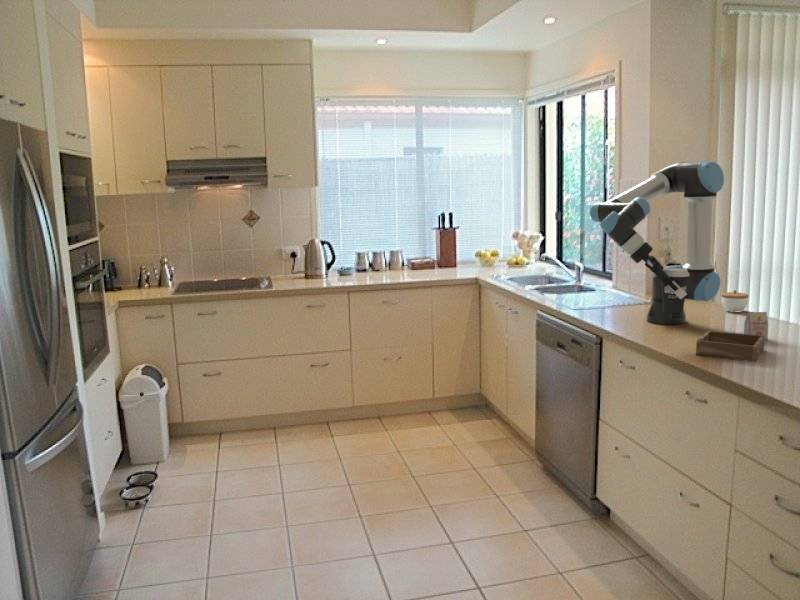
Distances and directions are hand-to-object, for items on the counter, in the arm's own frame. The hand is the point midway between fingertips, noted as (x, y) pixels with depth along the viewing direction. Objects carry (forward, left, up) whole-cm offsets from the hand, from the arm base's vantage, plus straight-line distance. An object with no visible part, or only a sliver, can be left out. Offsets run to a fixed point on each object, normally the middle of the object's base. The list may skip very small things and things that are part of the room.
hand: (683, 294), depth 241 cm
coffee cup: (+1, -3, -6) cm, 7 cm away
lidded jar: (-78, +4, -19) cm, 80 cm away
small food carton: (-25, +20, -19) cm, 37 cm away
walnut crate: (+1, +16, -19) cm, 25 cm away
